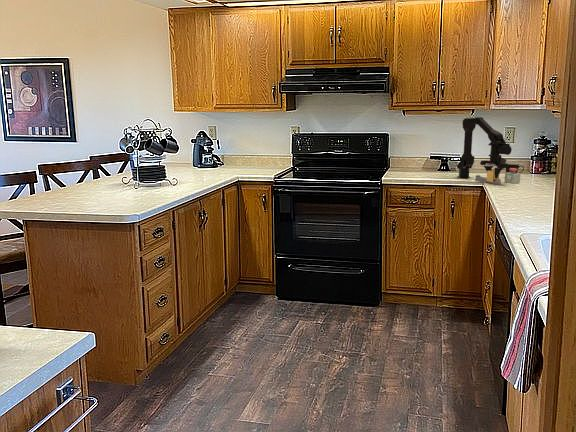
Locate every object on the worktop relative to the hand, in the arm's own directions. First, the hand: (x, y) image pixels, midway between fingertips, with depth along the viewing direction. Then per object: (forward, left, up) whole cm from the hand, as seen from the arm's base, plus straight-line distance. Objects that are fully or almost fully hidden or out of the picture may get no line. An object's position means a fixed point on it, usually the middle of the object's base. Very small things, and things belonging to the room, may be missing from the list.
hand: (492, 177), depth 376 cm
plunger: (+3, +14, 0) cm, 14 cm away
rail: (-4, 0, -4) cm, 5 cm away
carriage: (0, 0, -2) cm, 2 cm away
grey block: (+3, +14, -4) cm, 15 cm away
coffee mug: (-9, +28, -4) cm, 30 cm away
